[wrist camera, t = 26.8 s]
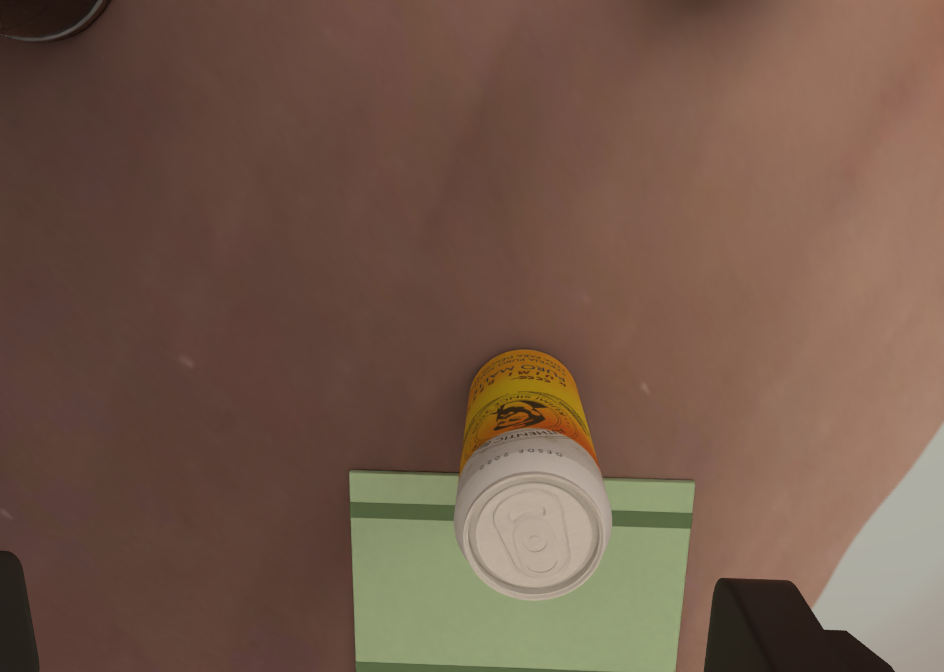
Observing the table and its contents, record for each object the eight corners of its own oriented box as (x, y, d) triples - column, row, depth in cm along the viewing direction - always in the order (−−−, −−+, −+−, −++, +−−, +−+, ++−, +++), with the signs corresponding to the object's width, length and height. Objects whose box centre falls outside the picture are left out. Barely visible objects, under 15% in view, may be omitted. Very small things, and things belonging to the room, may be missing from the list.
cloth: (358, 694, 48) (356, 700, 47) (350, 469, 43) (348, 473, 43) (669, 707, 47) (671, 713, 47) (693, 480, 43) (695, 483, 42)
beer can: (560, 332, 41) (592, 445, 26) (589, 430, 42) (634, 589, 28) (455, 361, 41) (430, 488, 27) (487, 457, 43) (479, 626, 28)
